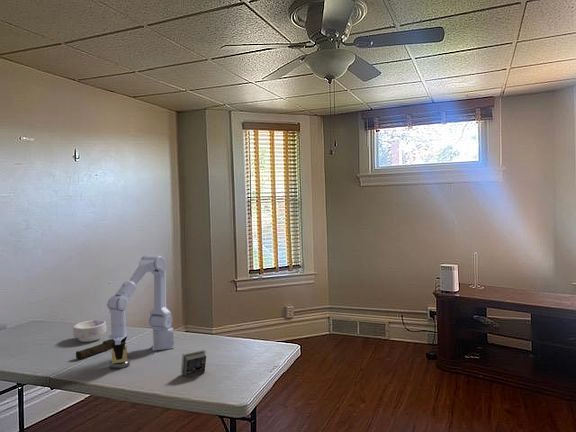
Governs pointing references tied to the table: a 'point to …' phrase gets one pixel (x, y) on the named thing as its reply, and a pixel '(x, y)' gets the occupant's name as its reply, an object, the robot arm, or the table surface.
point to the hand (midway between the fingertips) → (119, 356)
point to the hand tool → (95, 349)
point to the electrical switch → (193, 363)
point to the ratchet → (119, 365)
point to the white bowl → (89, 330)
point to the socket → (124, 357)
